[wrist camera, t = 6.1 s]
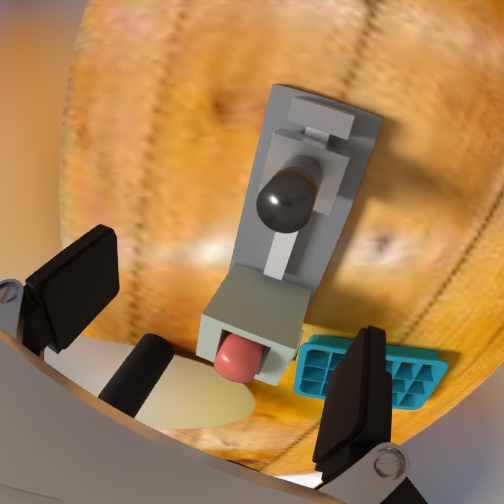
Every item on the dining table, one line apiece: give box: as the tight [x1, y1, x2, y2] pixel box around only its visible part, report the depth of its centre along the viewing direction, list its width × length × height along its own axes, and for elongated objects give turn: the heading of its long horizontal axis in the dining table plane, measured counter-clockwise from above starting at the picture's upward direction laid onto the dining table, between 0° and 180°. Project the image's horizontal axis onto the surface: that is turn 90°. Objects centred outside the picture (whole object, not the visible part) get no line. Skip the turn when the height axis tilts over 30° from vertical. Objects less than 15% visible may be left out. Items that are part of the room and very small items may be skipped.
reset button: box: [214, 332, 266, 383], centre depth 30 cm, size 4×4×6 cm
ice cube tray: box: [293, 335, 448, 410], centre depth 39 cm, size 12×20×3 cm, turn 90°
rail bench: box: [196, 84, 383, 386], centre depth 28 cm, size 10×26×10 cm, turn 167°
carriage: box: [256, 128, 350, 234], centre depth 22 cm, size 6×5×11 cm
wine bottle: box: [98, 334, 174, 418], centre depth 39 cm, size 6×6×30 cm
